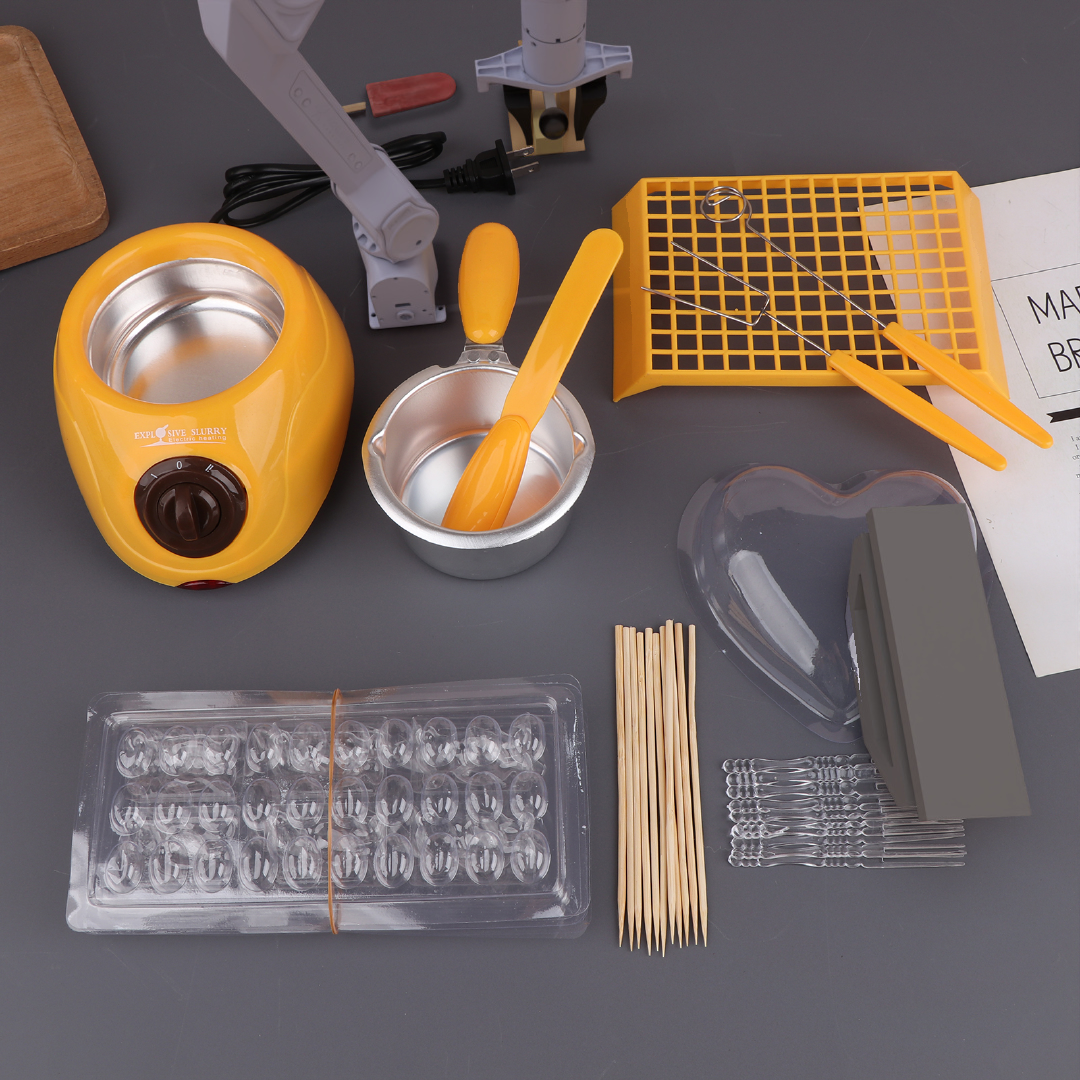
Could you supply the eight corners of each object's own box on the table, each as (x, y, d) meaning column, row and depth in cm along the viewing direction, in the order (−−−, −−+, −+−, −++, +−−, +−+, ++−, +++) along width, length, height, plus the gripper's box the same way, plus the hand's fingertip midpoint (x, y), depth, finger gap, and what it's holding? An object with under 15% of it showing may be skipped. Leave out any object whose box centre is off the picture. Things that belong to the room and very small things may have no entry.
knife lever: (570, 144, 90) (570, 118, 87) (540, 147, 90) (539, 121, 87) (556, 72, 96) (556, 45, 93) (529, 74, 96) (528, 47, 93)
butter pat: (562, 152, 99) (563, 136, 96) (536, 154, 98) (535, 138, 96) (558, 123, 100) (559, 107, 98) (532, 126, 100) (531, 109, 98)
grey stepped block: (833, 548, 85) (871, 507, 74) (915, 544, 85) (965, 503, 74) (876, 823, 77) (927, 820, 66) (967, 818, 77) (1031, 815, 66)
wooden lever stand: (584, 158, 100) (588, 88, 90) (514, 164, 100) (510, 95, 90) (574, 88, 103) (576, 14, 94) (505, 95, 103) (501, 21, 94)
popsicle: (322, 92, 101) (450, 65, 102) (325, 104, 103) (452, 78, 104) (329, 123, 100) (459, 95, 101) (332, 134, 101) (461, 107, 102)
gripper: (629, -23, 79) (618, 98, 92) (467, -8, 79) (479, 111, 92) (640, 37, 77) (628, 152, 90) (474, 53, 77) (485, 166, 90)
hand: (553, 135), depth 91 cm, fingers open, 4 cm apart
